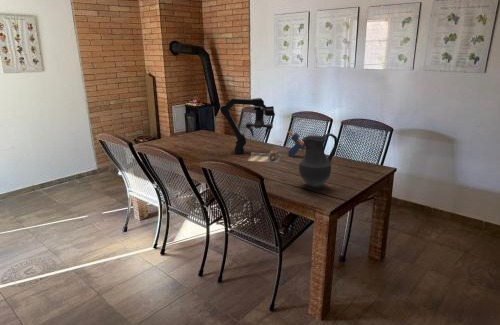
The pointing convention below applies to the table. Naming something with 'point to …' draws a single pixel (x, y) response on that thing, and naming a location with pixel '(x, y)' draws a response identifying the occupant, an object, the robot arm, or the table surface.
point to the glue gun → (296, 145)
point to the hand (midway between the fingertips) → (259, 137)
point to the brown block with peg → (273, 154)
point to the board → (262, 157)
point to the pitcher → (316, 161)
